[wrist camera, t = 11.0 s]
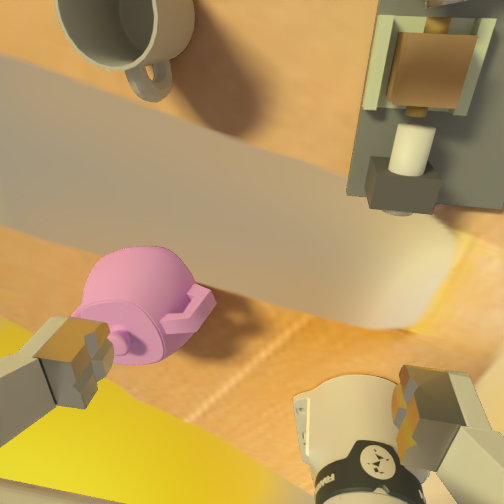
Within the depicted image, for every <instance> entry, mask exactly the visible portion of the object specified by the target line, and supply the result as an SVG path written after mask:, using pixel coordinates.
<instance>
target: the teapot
mask: <svg viewBox="0 0 504 504" xmlns="http://www.w3.org/2000/svg"><path fill="white" fill-rule="evenodd" d="M216 304H217V302H216V300H215V298H214V296H213V294H212V291H211V290H210V289H207V288H205V287H203V286H200V285H198V284H196V282H195V280H194V278H193V276H192V274H191V273H190V271H189V270H188V268H187V267H186V265H185V264H184V263H183V262H182V260H181V259H180V258H179V257H178V256H177V255H176V254H174V253H173V252H172V251H170V250H168V249H166V248H163V247H158V246H137V247H129V248H124V249H121V250H117V251H115V252H112V253H110V254H107V255H105V256H104V257H102V258H101V259H100V260H99V261H98V262H97V263H96V265H95V266H94V268H93V269H92V271H91V272H90V274H89V276H88V279H87V281H86V284H85V287H84V291H83V297H82V304H81V305H80V306H79V307H78V308H77V309H76V310H75V311H74V312H73V313H72V315H71V316H70V317H77V318H83V319H89V320H95V321H101V322H105V323H107V324H108V325H109V329H110V334H109V335H108V337H107V338H108V339H109V340H110V341H111V342H112V344H113V347H114V360H113V362H114V363H116V364H120V365H144V364H151V363H156V362H159V361H161V360H163V359H165V358H166V357H168V356H170V355H171V354H173V353H174V352H176V351H177V350H178V349H180V348H181V347H182V346H183V345H184V344H185V343H186V342H187V341H188V340H189V339H190V338H191V337H192V335H193V334H194V333H196V332H197V331H198V330H199V328H200V327H201V325H202V324H203V323H204V321H205V320H206V318H207V317H208V316H209V314H210V313H211V311H212V310H213V309H214V307H215V306H216Z"/></svg>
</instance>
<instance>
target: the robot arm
mask: <svg viewBox="0 0 504 504" xmlns="http://www.w3.org/2000/svg"><path fill="white" fill-rule="evenodd" d="M109 334H110V329H109V325H108V324H107V323H105V322H101V321H95V320H89V319H83V318H77V317H69V316H63V315H54V316H52V317H50V318H49V320H48V321H47V322H46V323H45V324H44V325H43V326H42V327H41V328H40V329H39V330H38V331H37V332H36V333H35V334H34V335H33V336H32V338H30V340H29V341H28V342H27V343H26V344H25V345H24V346H23V347H22V348H21V349H20V350H19V351H18V352H17V353H16V354H15V355H13V354H9V355H7V356H5V357H3V358H0V447H1V446H3V445H4V444H6V443H7V442H8V441H10V440H11V439H13V438H14V437H15V436H17V435H18V434H20V433H21V432H22V431H24V430H25V429H26V428H28V427H29V426H31V425H32V424H33V423H35V422H36V421H37V420H39V419H40V418H42V417H43V416H44V415H46V414H47V413H48V412H50V411H51V410H52V409H54V408H55V407H56V405H57V406H64V407H72V408H78V409H86V407H87V406H88V404H89V403H90V401H91V399H92V398H93V396H94V395H95V393H96V392H97V390H98V387H97V382H98V381H99V380H101V379H103V378H104V377H106V376H107V374H108V372H109V370H110V369H111V366H112V363H113V360H114V347H113V344H112V342H111V341H110V340H109V339H108V338H107V337H108V335H109ZM399 378H400V384H398V385H397V384H395V383H393V382H391V381H389V380H386V379H384V378H380V377H376V376H371V375H362V374H353V375H344V376H339V377H335V378H332V379H330V380H327V381H325V382H324V383H322V384H320V385H319V386H318V387H316V388H315V389H313V390H311V391H307V392H303V393H300V394H297V395H295V396H294V397H293V408H294V414H295V420H296V426H297V433H298V439H299V445H300V451H301V457H302V460H303V461H304V462H305V463H307V464H309V465H310V470H311V475H312V480H313V485H314V487H315V492H314V502H315V504H426V500H425V498H424V495H423V491H422V486H421V484H422V483H424V482H425V480H426V478H427V477H429V474H430V471H434V472H437V475H438V477H439V478H440V480H441V481H442V482H443V484H444V485H445V487H446V488H447V489H448V491H449V492H450V494H451V495H452V496H453V498H454V499H455V501H456V502H457V503H458V504H504V436H503V435H502V434H501V433H500V432H495V431H492V429H491V426H490V424H489V421H488V419H487V417H486V414H485V412H484V410H483V407H482V405H481V402H480V400H479V398H478V395H477V393H476V391H475V388H474V386H473V383H472V381H471V379H470V376H469V375H468V374H467V373H463V372H456V371H448V370H440V369H433V368H425V367H418V366H410V365H403V366H402V368H401V370H400V373H399ZM0 504H124V503H119V502H115V501H110V500H105V499H100V498H95V497H91V496H85V495H81V494H76V493H71V492H66V491H61V490H56V489H52V488H47V487H42V486H37V485H32V484H27V483H22V482H17V481H13V480H7V479H2V478H0Z"/></svg>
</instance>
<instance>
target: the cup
mask: <svg viewBox="0 0 504 504" xmlns="http://www.w3.org/2000/svg"><path fill="white" fill-rule="evenodd" d="M54 5H55V10H56V13H57V17H58V21H59V24H60V26H61V28H62V30H63V32H64V34H65V36H66V38H67V40H68V41H69V42H70V44H71V45H72V46H73V48H74V49H75V50H76V51H77V52H78V53H79V54H80V55H81V56H82V57H83V58H84V59H85V60H87V61H88V62H90V63H92V64H93V65H95V66H97V67H99V68H102V69H106V70H110V71H123V70H124V71H125V73H126V76H127V79H128V81H129V83H130V86H131V88H132V89H133V91H134V92H135V93H136V94H137V96H138V97H140V98H141V99H143V100H146V101H149V102H159V101H161V100H162V99H164V98H165V97H166V96H167V95H168V94H169V93H170V90H171V87H172V72H171V66H170V61H169V60H170V59H172V58H174V57H176V56H178V55H179V54H180V53H181V52H183V51H184V50H185V48H186V47H187V45H188V44H189V42H190V40H191V37H192V35H193V32H194V25H195V11H194V4H193V1H192V0H54ZM151 64H152V67H153V72H154V79H153V81H152V80H151V79H150V78H149V76H148V74H147V71H146V68H145V66H147V65H151Z"/></svg>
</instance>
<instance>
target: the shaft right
mask: <svg viewBox="0 0 504 504" xmlns="http://www.w3.org/2000/svg"><path fill="white" fill-rule="evenodd" d="M462 1H467V0H425V9H426V8H432V7H437V6H442V5H447V4H452V3H457V2H462Z"/></svg>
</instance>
